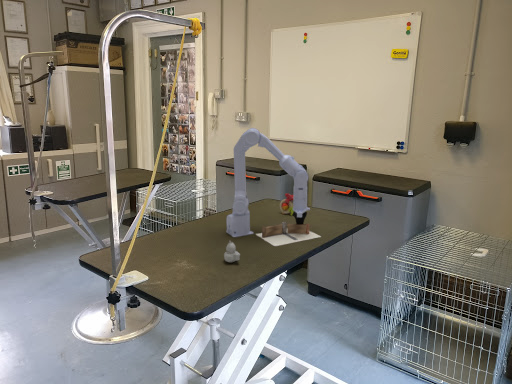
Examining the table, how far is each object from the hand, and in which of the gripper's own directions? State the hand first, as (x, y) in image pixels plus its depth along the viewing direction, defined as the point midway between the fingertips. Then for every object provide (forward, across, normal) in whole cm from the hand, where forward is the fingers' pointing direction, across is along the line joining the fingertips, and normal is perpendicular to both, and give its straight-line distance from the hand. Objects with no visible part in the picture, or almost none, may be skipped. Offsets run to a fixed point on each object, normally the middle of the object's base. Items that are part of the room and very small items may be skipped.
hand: (299, 229), depth 169 cm
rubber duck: (+2, -33, +22) cm, 40 cm away
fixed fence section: (+1, -5, +10) cm, 11 cm away
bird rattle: (+2, +28, +7) cm, 28 cm away
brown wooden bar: (+1, -2, +1) cm, 2 cm away
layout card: (+2, -4, +5) cm, 7 cm away
